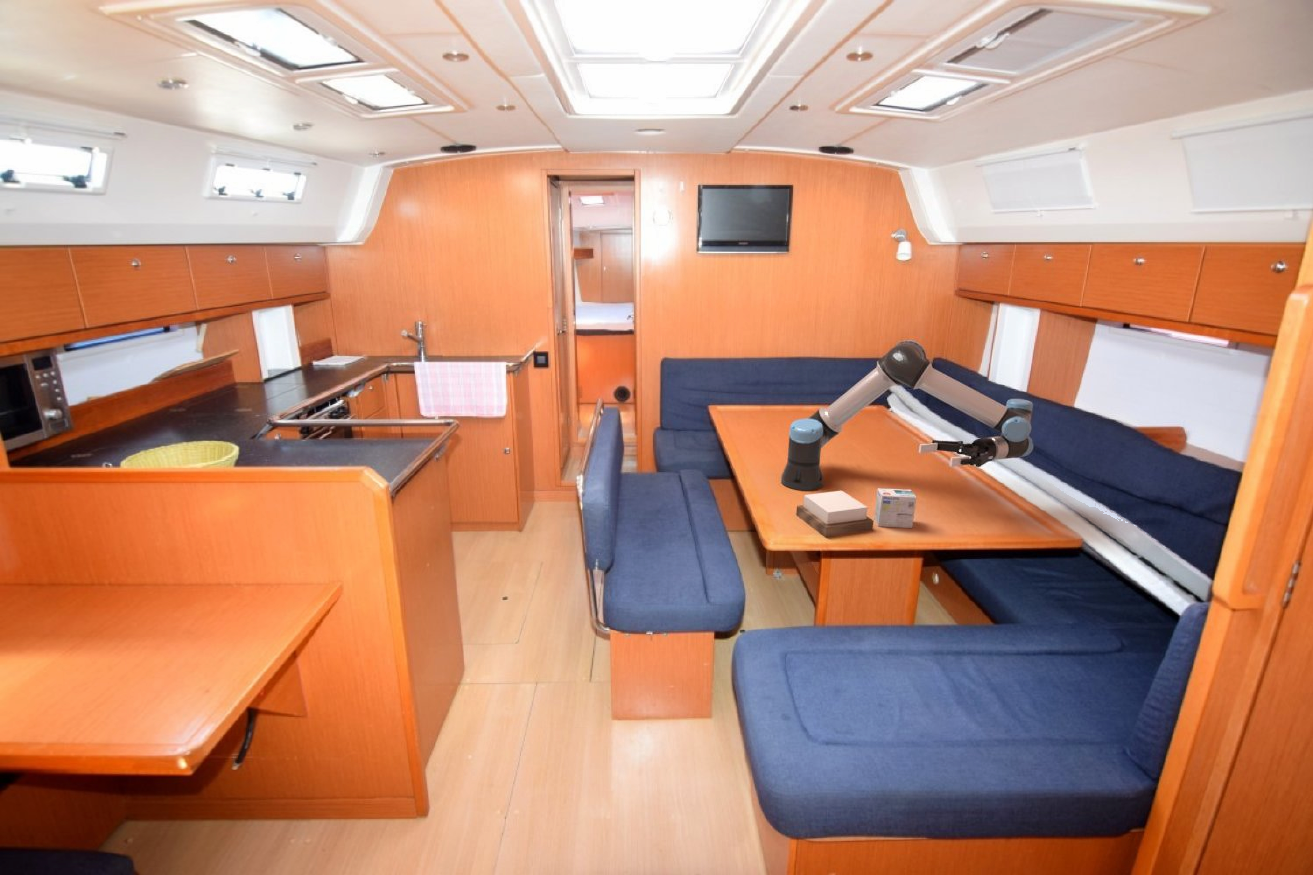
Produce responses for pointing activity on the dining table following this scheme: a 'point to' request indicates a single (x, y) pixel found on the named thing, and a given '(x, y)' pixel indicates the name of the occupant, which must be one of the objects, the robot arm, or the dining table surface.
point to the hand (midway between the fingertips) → (934, 455)
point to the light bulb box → (895, 508)
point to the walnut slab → (835, 528)
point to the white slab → (835, 507)
